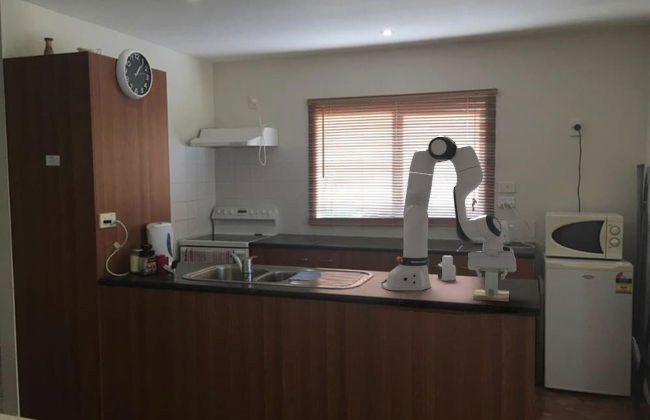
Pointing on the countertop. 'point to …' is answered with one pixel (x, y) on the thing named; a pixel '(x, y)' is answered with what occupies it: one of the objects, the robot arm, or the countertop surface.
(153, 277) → the countertop surface
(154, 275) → the countertop surface
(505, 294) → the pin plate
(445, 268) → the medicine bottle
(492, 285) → the block
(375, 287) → the countertop surface
